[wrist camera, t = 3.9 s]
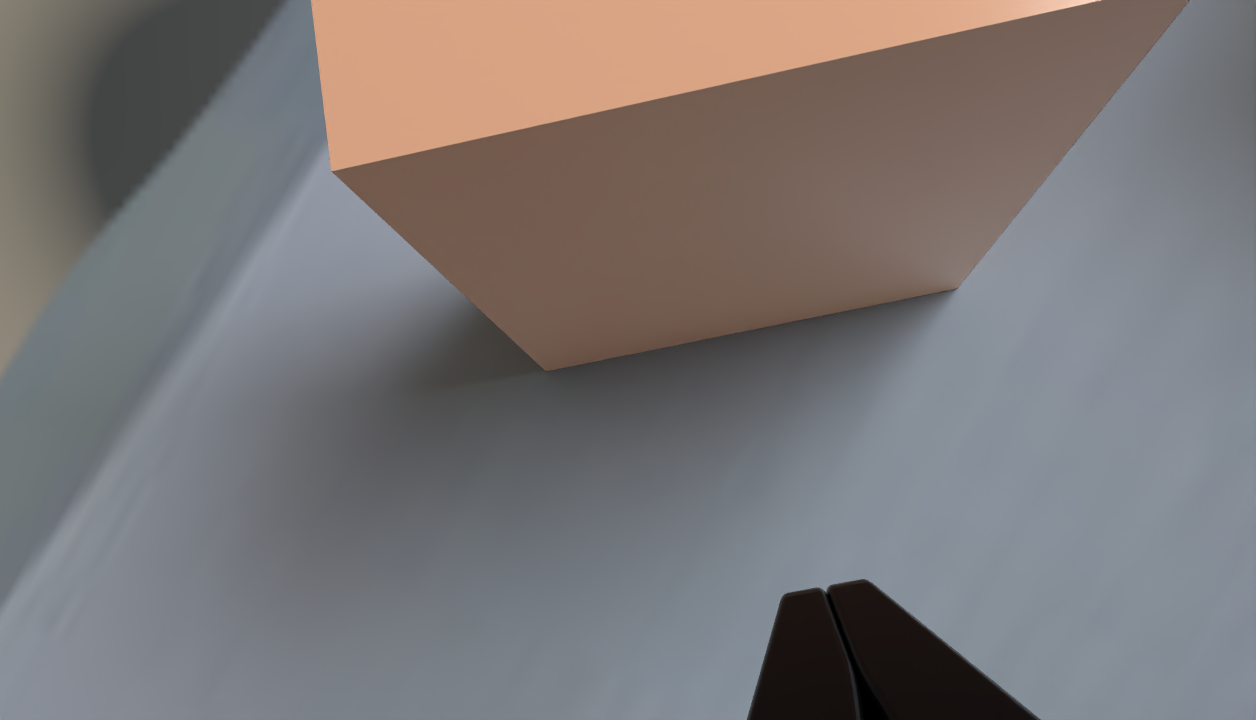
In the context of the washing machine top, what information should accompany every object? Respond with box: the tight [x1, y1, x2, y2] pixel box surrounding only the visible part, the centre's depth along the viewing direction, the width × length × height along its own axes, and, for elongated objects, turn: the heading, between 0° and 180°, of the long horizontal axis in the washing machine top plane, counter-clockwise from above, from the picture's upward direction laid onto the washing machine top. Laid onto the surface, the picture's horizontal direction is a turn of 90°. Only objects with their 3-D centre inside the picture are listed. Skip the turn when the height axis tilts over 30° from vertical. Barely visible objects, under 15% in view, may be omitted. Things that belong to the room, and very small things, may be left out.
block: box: [311, 0, 1190, 371], centre depth 14 cm, size 3×8×10 cm, turn 100°
